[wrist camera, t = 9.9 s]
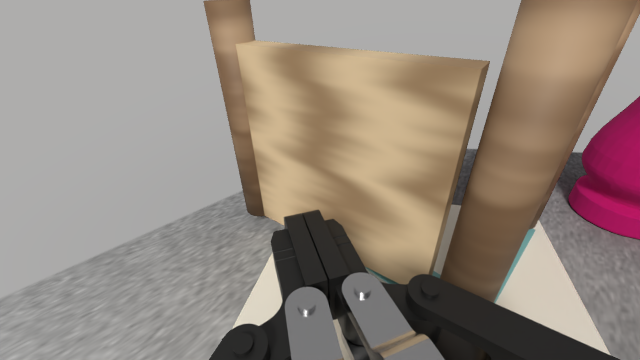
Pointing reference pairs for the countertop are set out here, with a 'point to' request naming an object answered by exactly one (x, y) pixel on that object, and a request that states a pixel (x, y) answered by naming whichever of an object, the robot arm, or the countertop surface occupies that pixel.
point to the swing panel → (348, 136)
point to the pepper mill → (612, 176)
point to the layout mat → (515, 294)
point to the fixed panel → (532, 129)
